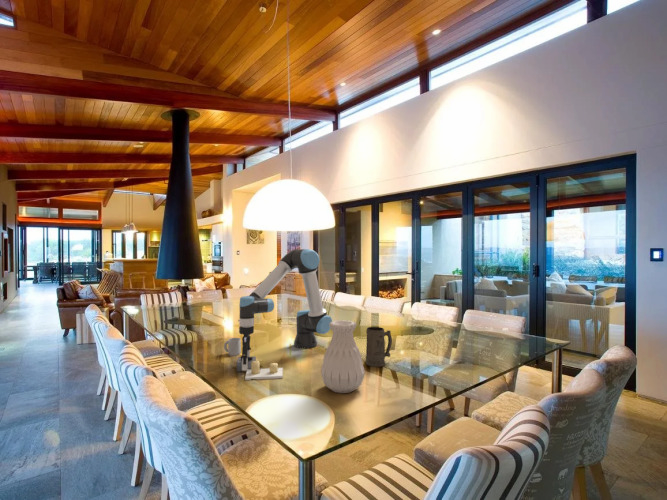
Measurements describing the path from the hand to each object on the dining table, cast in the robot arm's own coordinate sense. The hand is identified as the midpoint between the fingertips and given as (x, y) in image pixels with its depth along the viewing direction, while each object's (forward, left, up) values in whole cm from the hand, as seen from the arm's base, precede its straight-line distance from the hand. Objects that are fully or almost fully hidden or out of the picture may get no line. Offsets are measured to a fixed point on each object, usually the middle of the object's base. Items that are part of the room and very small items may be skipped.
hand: (245, 366), depth 189 cm
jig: (-10, +11, -1) cm, 15 cm away
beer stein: (-72, +1, -1) cm, 72 cm away
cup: (+11, -28, -1) cm, 30 cm away
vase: (-46, +34, -1) cm, 57 cm away
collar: (0, 0, -1) cm, 1 cm away
